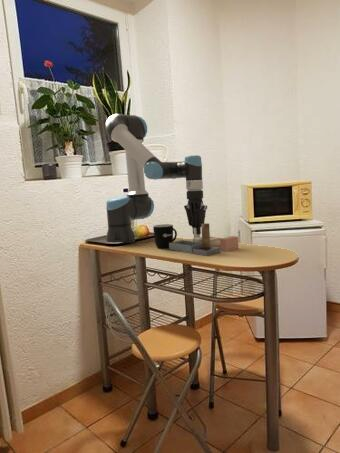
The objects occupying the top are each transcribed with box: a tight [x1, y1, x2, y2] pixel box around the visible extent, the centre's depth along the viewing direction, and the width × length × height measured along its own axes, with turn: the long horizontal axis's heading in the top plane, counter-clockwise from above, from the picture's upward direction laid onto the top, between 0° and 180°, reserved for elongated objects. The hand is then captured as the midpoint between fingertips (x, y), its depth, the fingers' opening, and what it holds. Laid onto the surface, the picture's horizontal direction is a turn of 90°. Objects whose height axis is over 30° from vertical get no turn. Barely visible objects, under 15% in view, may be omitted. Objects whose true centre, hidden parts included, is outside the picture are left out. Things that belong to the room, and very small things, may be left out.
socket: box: [192, 246, 221, 257], centre depth 147 cm, size 8×8×2 cm
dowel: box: [201, 222, 211, 250], centre depth 146 cm, size 3×3×12 cm
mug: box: [152, 223, 178, 250], centre depth 164 cm, size 12×9×10 cm
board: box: [192, 236, 222, 248], centre depth 161 cm, size 10×8×4 cm
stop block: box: [220, 235, 239, 252], centre depth 151 cm, size 3×8×5 cm, turn 131°
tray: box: [168, 239, 202, 254], centre depth 155 cm, size 14×8×3 cm, turn 41°
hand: (197, 241), depth 166 cm, fingers closed
